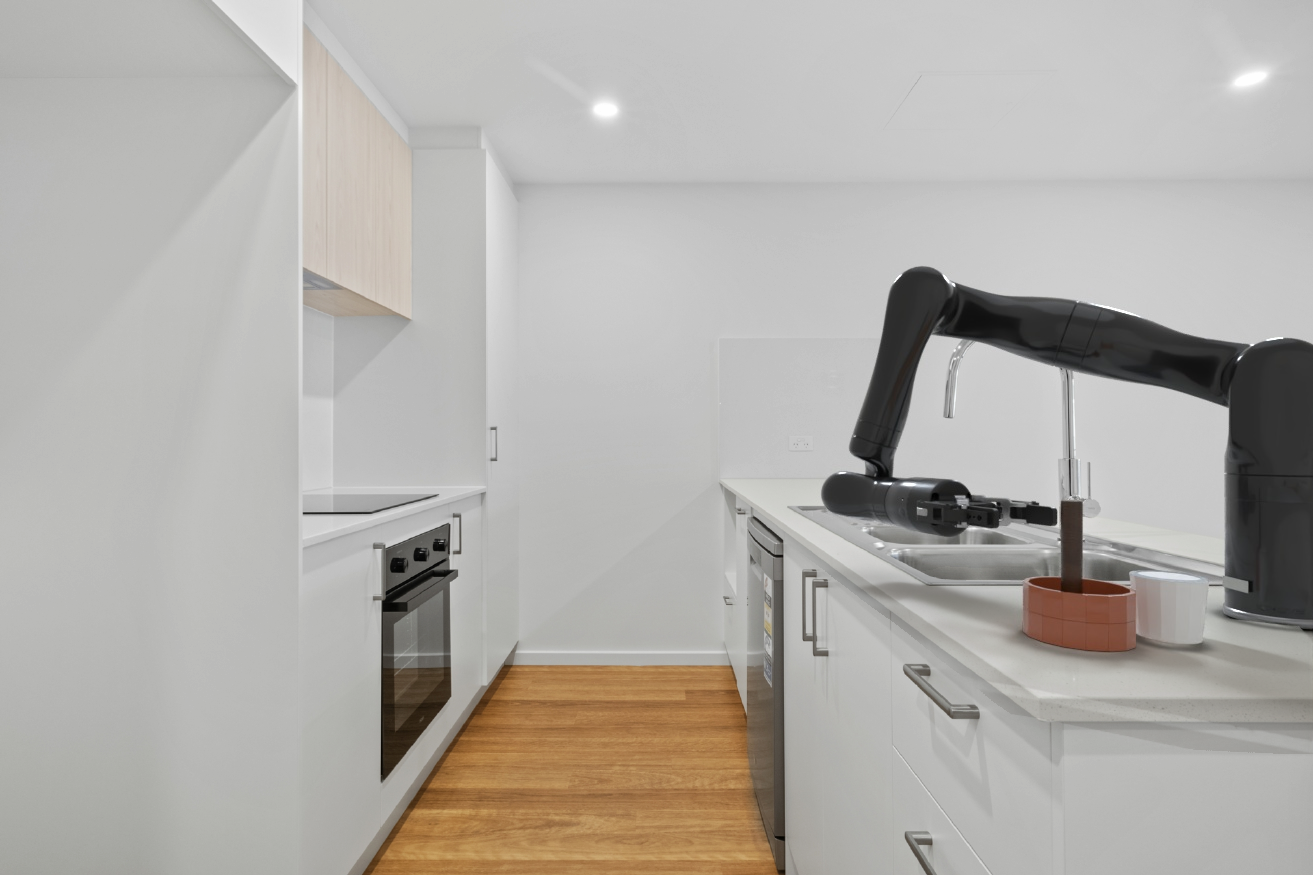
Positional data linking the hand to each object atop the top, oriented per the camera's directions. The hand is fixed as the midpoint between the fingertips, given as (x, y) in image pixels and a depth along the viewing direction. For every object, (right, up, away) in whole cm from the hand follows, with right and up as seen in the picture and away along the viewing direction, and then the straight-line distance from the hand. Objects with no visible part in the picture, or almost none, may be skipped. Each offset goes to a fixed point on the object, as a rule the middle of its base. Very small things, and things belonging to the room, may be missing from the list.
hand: (1026, 517), depth 79 cm
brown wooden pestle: (+2, -12, -6) cm, 13 cm away
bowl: (+2, -12, -6) cm, 14 cm away
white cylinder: (+12, -13, -6) cm, 18 cm away
